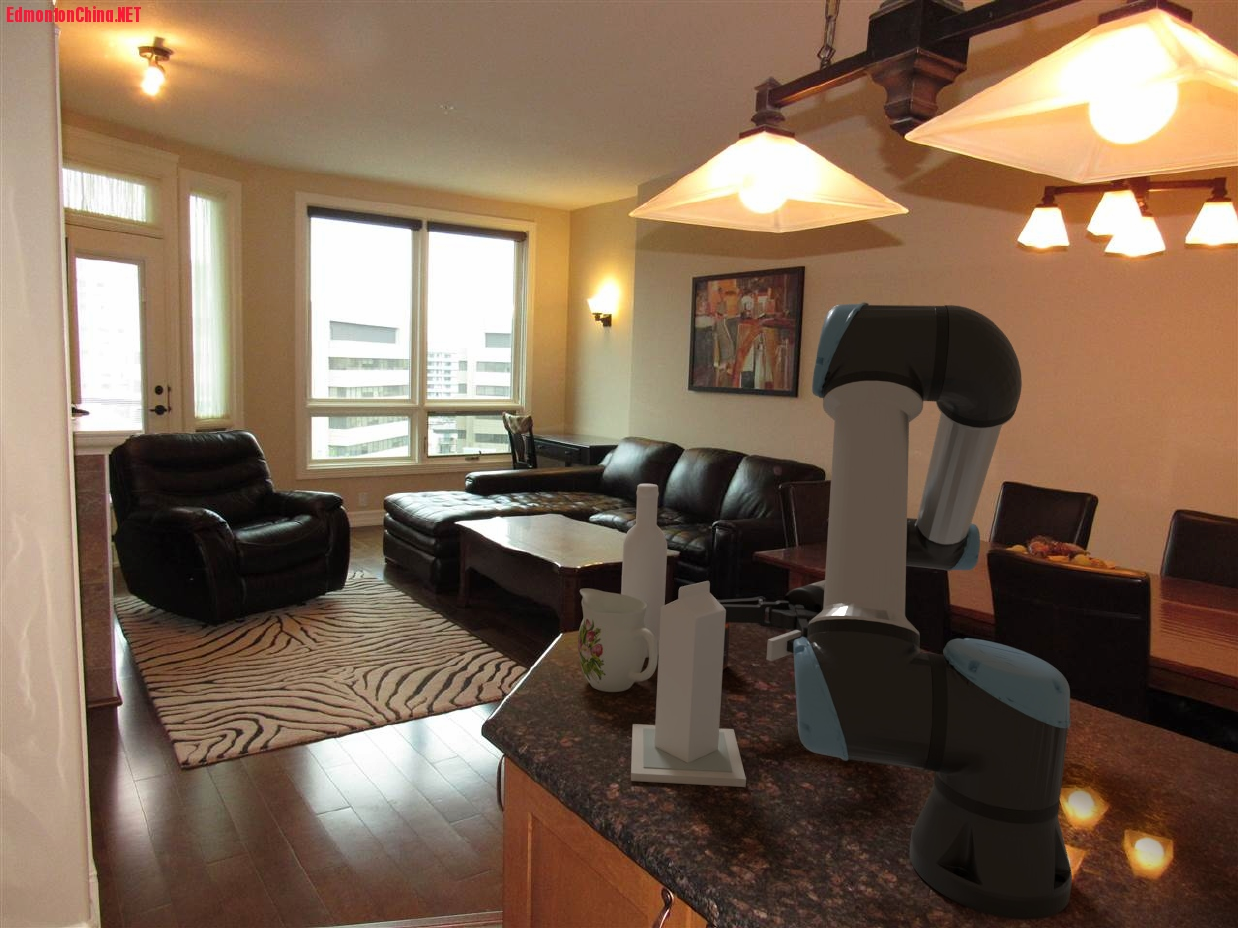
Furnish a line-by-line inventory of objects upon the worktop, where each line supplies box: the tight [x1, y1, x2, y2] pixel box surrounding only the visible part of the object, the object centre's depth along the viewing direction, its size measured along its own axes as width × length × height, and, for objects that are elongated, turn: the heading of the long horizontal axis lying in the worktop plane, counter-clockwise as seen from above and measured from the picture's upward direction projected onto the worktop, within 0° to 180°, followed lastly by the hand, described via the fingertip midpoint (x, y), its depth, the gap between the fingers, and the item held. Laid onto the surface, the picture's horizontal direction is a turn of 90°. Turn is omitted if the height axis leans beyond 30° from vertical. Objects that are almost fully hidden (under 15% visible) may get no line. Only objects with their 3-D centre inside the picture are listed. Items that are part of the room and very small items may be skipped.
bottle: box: [620, 483, 668, 659], centre depth 146 cm, size 8×8×30 cm
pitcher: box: [577, 587, 659, 693], centre depth 130 cm, size 11×18×14 cm, turn 41°
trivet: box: [630, 723, 747, 788], centre depth 107 cm, size 14×14×1 cm
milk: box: [654, 580, 726, 763], centre depth 106 cm, size 6×6×22 cm
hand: (727, 636), depth 111 cm, fingers open, 13 cm apart
